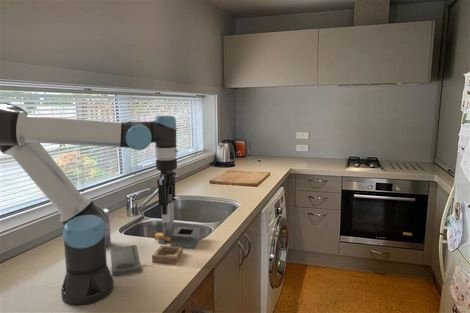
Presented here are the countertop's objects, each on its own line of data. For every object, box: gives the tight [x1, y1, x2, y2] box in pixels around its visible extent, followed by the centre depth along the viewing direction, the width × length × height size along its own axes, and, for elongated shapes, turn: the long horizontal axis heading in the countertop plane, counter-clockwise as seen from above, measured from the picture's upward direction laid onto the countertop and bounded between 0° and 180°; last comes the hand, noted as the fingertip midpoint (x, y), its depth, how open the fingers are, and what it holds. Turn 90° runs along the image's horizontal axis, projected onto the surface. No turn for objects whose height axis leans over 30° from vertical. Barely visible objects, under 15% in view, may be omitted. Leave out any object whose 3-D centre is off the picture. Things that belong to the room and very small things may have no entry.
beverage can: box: [101, 208, 112, 248], centre depth 136 cm, size 6×6×15 cm
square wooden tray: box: [151, 245, 184, 265], centre depth 125 cm, size 9×9×4 cm
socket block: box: [158, 226, 201, 250], centre depth 139 cm, size 10×16×6 cm, turn 82°
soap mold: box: [110, 244, 142, 277], centre depth 124 cm, size 10×20×4 cm, turn 21°
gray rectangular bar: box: [162, 193, 175, 237], centre depth 122 cm, size 4×4×16 cm
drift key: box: [154, 232, 171, 242], centre depth 139 cm, size 3×7×2 cm, turn 82°
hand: (167, 219), depth 123 cm, fingers closed on gray rectangular bar, 4 cm apart
